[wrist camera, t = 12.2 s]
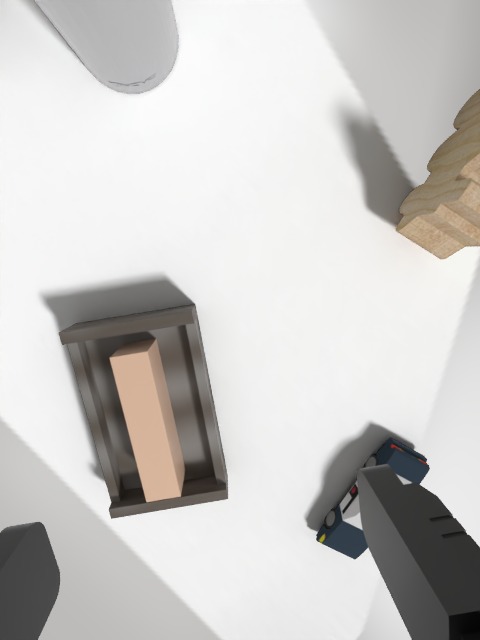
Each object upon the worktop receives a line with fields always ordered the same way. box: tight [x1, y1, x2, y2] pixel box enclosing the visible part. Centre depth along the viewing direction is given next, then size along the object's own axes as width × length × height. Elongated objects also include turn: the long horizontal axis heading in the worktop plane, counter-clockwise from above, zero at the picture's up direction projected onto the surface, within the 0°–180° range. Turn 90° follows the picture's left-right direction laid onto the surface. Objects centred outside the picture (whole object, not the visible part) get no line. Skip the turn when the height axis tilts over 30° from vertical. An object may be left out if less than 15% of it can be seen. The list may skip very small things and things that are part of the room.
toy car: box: [316, 437, 430, 559], centre depth 42 cm, size 5×16×5 cm, turn 149°
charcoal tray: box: [59, 304, 228, 519], centre depth 38 cm, size 21×13×4 cm, turn 9°
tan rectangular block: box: [110, 339, 185, 502], centre depth 37 cm, size 16×4×4 cm, turn 9°
